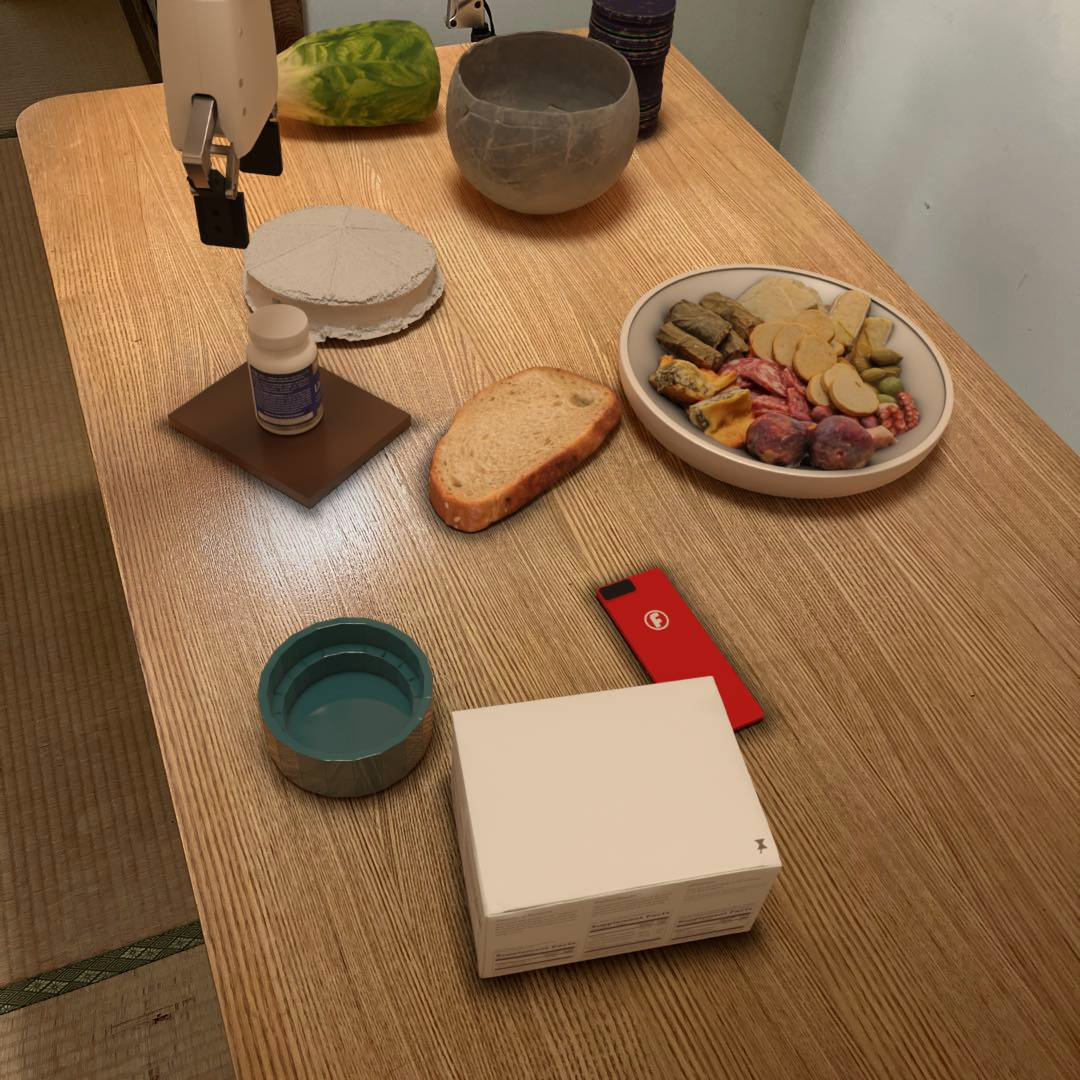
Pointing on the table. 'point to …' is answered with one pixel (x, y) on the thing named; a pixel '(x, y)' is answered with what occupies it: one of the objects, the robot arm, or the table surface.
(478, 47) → the bowl
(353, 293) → the grey pie
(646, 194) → the table surface
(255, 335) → the pill bottle
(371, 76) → the lettuce
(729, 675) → the electronic device
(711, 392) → the bowl
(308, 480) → the walnut board
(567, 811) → the supplement box
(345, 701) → the teal bowl
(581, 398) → the bread slice
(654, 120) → the dark purple ridged cylinder
